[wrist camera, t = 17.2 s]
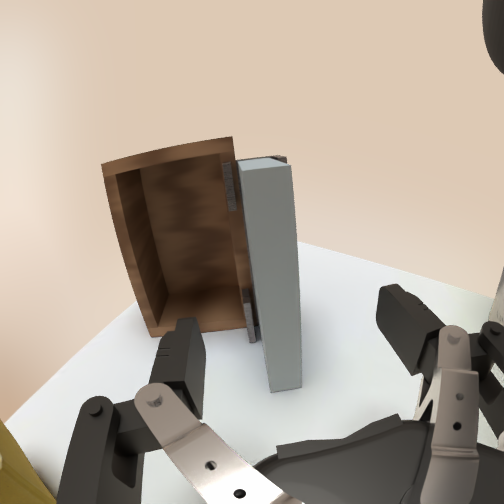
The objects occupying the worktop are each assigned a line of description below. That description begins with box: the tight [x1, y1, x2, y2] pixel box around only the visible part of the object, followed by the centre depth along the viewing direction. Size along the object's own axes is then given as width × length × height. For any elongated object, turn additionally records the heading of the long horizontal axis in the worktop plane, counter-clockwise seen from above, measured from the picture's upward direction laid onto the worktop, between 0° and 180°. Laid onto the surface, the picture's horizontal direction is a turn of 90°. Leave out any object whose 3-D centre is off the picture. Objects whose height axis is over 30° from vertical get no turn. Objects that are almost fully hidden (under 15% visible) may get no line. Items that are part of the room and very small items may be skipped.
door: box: [238, 158, 302, 393], centre depth 20 cm, size 2×8×16 cm, turn 4°
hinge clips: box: [222, 155, 287, 343], centre depth 23 cm, size 5×3×16 cm
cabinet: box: [101, 137, 258, 337], centre depth 27 cm, size 11×8×18 cm
